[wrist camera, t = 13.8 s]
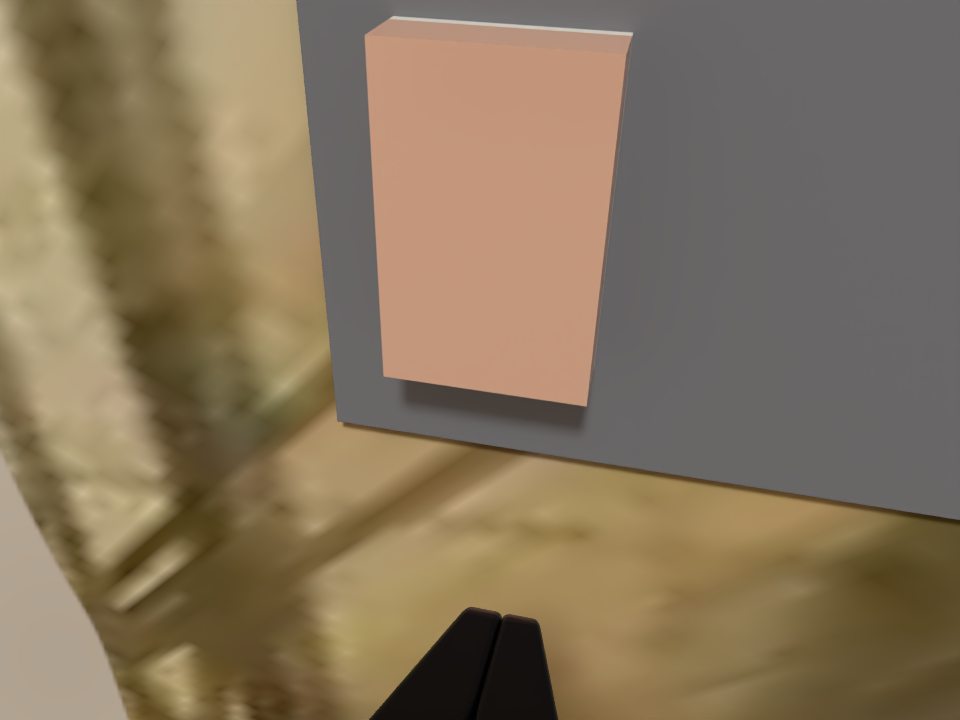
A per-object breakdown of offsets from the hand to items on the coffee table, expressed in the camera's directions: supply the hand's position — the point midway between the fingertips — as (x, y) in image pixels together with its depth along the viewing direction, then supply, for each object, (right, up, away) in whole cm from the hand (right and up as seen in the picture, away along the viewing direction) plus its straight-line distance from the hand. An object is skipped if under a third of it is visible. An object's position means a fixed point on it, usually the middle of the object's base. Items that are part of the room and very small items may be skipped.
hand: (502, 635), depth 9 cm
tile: (+3, +6, +9) cm, 11 cm away
